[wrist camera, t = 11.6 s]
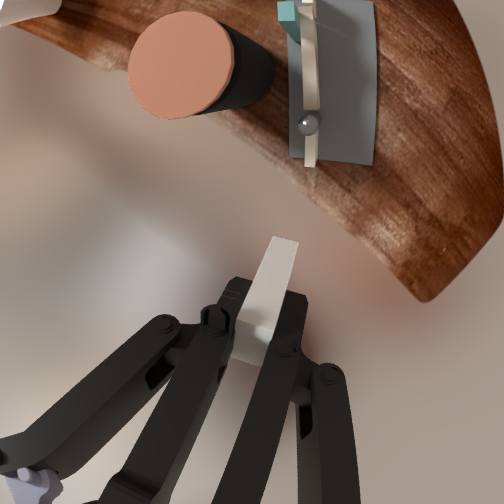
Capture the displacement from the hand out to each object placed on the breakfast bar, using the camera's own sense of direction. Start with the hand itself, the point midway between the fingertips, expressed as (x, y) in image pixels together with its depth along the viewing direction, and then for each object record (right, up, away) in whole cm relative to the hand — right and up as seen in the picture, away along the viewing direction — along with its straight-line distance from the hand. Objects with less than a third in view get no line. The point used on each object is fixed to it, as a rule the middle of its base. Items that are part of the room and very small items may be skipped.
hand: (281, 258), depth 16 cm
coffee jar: (-3, +26, +17) cm, 31 cm away
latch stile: (+5, +30, +12) cm, 32 cm away
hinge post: (+7, +19, +18) cm, 27 cm away
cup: (-46, +57, +12) cm, 74 cm away
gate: (+6, +25, +13) cm, 29 cm away
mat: (+9, +24, +14) cm, 29 cm away
